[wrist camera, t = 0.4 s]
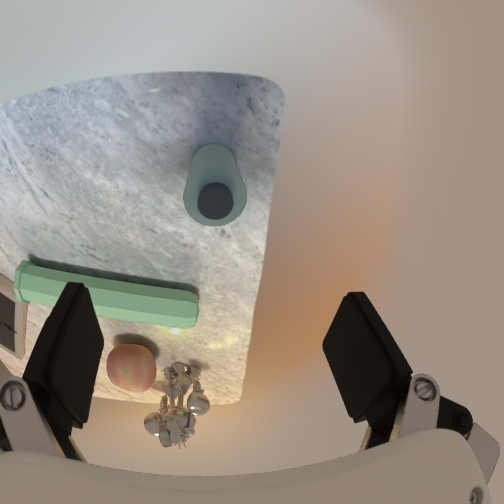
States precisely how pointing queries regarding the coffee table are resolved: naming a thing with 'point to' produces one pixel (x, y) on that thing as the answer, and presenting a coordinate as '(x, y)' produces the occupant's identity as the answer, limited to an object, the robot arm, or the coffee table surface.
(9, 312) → the picture frame
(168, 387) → the robot toy
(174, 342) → the coffee table surface
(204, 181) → the bottle
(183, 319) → the container
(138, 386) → the apple
